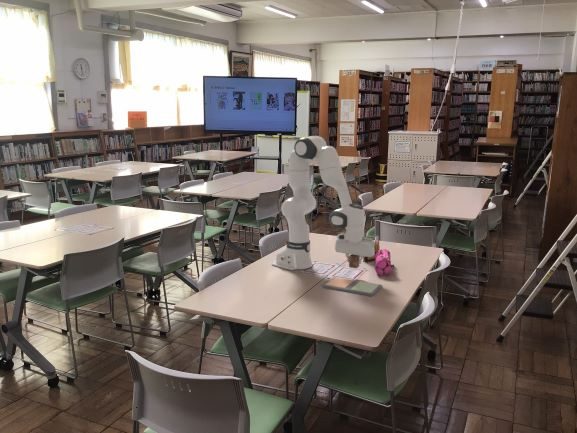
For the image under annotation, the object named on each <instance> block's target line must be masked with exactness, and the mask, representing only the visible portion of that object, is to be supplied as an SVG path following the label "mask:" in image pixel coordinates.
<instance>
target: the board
mask: <svg viewBox="0 0 577 433" xmlns="http://www.w3.org/2000/svg"><path fill="white" fill-rule="evenodd" d="M322 288H324V289H330V290H333V291H334V290H335V291H341V292H346V293H352V294H357V295H363V296H367V297H368V296H369V297H373V296H374V295H375V294H376V293H377V292H379V291H380V289H381V288H383V285H382V284H379V283H373V282H368V281H367V282H366V281H362V280H354V279H349V278H343V277H338V276H337V277H336V276H334V277H333V278H331V279H330V280H328V281H326V283H324V284H323V285H322Z"/></svg>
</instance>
